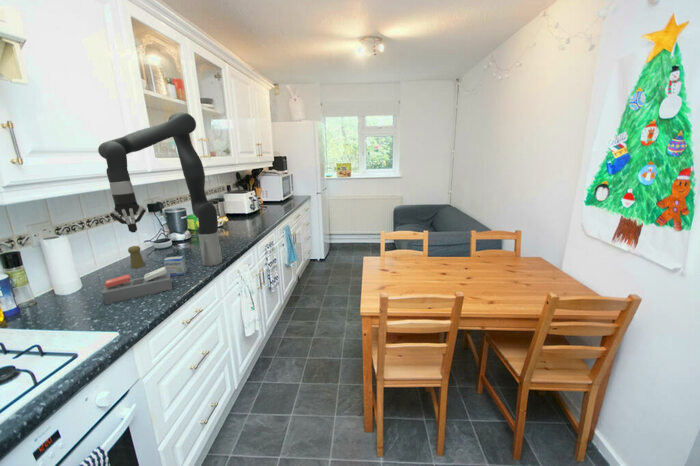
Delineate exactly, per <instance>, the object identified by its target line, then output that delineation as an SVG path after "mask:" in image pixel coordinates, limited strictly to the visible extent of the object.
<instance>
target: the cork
mask: <svg viewBox="0 0 700 466" xmlns="http://www.w3.org/2000/svg"><path fill="white" fill-rule="evenodd" d="M127 251H128V253H129V255H130V258H129V259H130V268H131V269H140V268H143V267H145V262H144V259H143V256H142V254H141V247H140V246H139V245H132V246H130V247H129V246H128V249H127Z"/></svg>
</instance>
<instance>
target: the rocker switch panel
mask: <svg viewBox="0 0 700 466" xmlns="http://www.w3.org/2000/svg"><path fill="white" fill-rule="evenodd" d="M171 277H172V276H170V272H169V273H165V274H162V275H160V276H158V277H155V278H153V279H151V280H148V281H146V280H145V279H144V276H143V277H137V278H132V279H130V281H129V282H125V283H122V284H118V285H115V286H111V287H108V288H106V287H105V286H104V288H103V291H102V293H101V294H102V298H103V301H104V305H109V304H113V303H114V304H115V303H118V302H123V301H127V300H128V301H129V300H133V299H137V298H141V297H145V296H150V295H154V294H155V293H156V294H158V292H160V293H163V292H162V291H165V292H167V291H166V290H169V291H172V290H173V285H172V278H171ZM171 289H172V290H171Z"/></svg>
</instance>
